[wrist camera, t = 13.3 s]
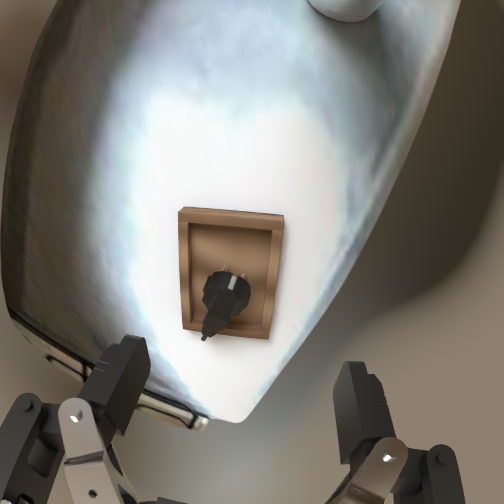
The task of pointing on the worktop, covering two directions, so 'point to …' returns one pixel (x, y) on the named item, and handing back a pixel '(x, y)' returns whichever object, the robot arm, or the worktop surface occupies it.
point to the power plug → (223, 300)
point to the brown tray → (229, 263)
